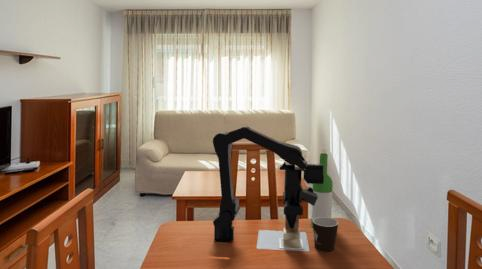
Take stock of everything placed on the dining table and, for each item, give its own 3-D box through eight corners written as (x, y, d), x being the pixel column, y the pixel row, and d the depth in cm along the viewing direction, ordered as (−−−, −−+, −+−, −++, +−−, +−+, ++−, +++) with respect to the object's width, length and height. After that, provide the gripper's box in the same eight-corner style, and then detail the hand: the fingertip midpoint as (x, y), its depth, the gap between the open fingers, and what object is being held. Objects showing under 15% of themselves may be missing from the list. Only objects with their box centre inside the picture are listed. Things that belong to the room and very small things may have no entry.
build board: (256, 250, 122) (256, 247, 122) (258, 231, 137) (258, 229, 137) (309, 253, 120) (309, 250, 120) (305, 233, 136) (305, 231, 136)
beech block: (283, 247, 123) (283, 233, 122) (283, 240, 128) (283, 227, 128) (299, 247, 122) (299, 234, 122) (298, 241, 128) (298, 227, 127)
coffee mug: (337, 256, 118) (339, 227, 116) (311, 253, 119) (312, 225, 118) (335, 241, 129) (337, 215, 128) (311, 239, 131) (312, 213, 129)
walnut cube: (285, 229, 122) (285, 217, 122) (285, 224, 127) (285, 212, 126) (298, 230, 122) (298, 217, 121) (297, 225, 126) (298, 213, 126)
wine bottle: (306, 226, 143) (309, 153, 139) (319, 222, 147) (322, 151, 143) (321, 233, 136) (324, 156, 132) (334, 228, 141) (338, 154, 137)
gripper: (319, 191, 112) (317, 238, 114) (313, 176, 131) (312, 217, 133) (284, 189, 113) (283, 236, 115) (283, 175, 132) (282, 215, 134)
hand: (291, 225), depth 124 cm, fingers open, 5 cm apart
